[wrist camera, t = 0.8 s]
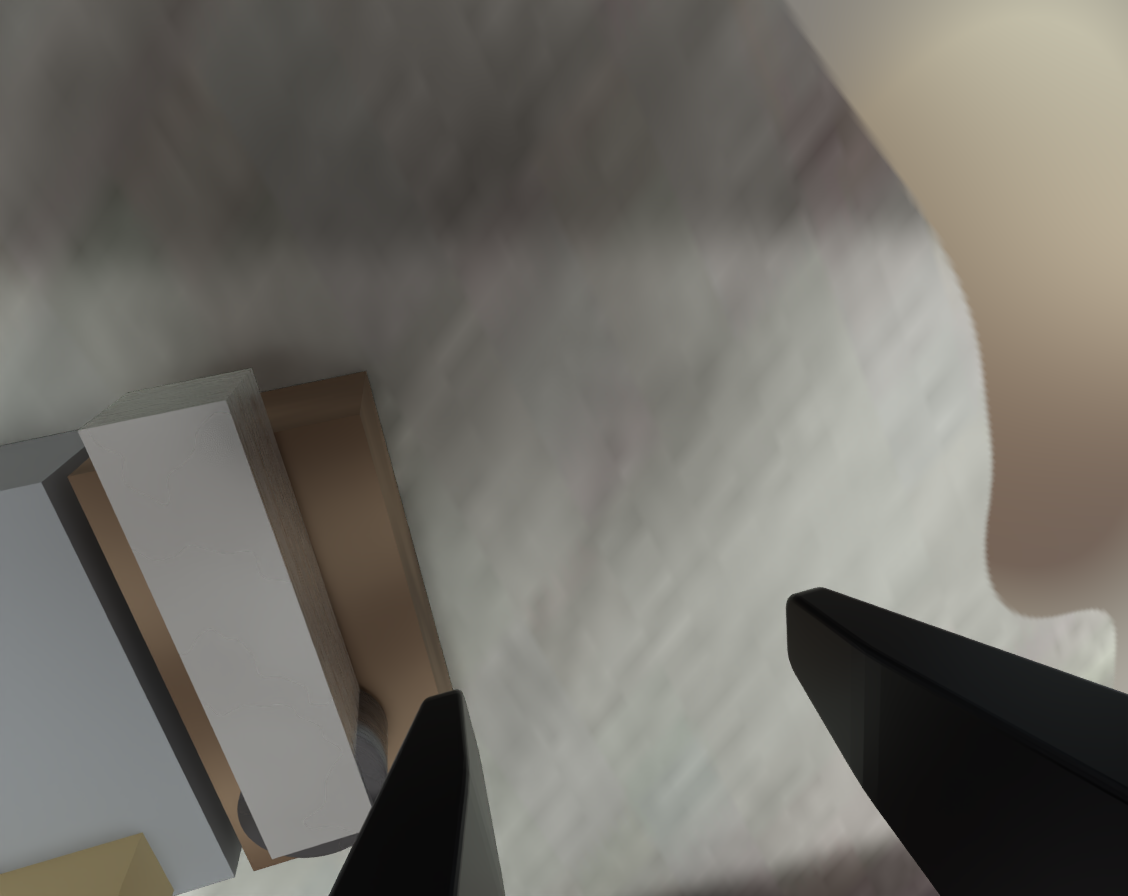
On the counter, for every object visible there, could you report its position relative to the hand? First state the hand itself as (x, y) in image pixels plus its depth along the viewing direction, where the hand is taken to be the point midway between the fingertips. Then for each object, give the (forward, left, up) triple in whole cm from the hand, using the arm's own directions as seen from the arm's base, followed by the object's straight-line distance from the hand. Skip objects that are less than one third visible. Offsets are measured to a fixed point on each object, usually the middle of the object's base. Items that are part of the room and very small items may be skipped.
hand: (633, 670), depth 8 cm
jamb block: (-5, +6, -13) cm, 15 cm away
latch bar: (-3, +6, -9) cm, 11 cm away
